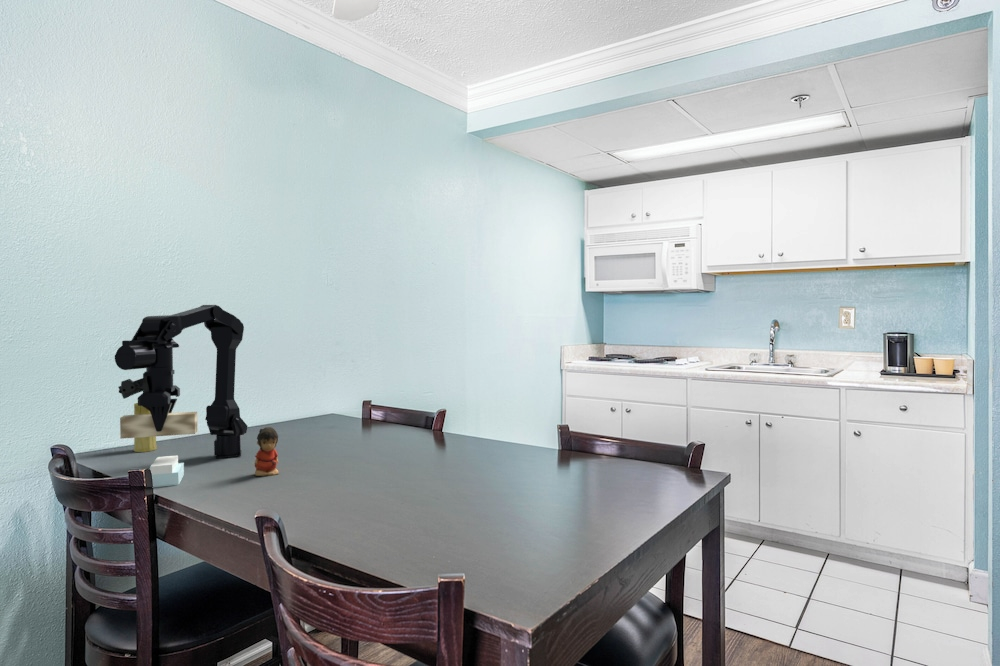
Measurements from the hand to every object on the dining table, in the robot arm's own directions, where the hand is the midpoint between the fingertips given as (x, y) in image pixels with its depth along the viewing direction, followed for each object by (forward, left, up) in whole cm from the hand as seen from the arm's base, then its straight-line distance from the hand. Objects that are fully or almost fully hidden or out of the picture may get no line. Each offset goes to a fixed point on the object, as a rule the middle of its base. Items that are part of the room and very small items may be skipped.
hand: (160, 429), depth 145 cm
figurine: (-24, +5, -13) cm, 28 cm away
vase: (+10, -39, -13) cm, 42 cm away
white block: (-1, +2, -12) cm, 13 cm away
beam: (0, 0, -1) cm, 1 cm away
